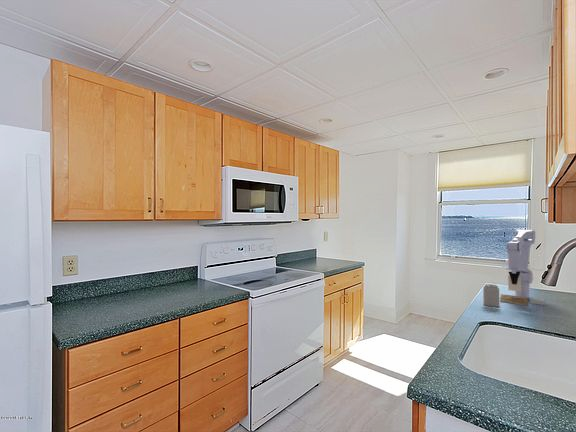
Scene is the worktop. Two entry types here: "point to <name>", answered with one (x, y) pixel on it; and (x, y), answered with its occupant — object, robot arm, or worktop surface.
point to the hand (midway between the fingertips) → (514, 283)
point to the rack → (522, 299)
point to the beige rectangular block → (514, 286)
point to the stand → (537, 301)
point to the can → (491, 295)
